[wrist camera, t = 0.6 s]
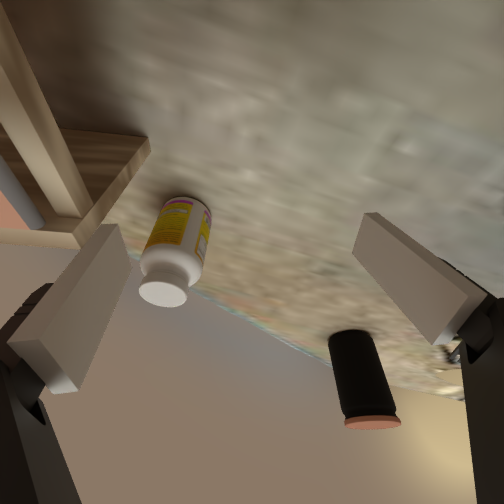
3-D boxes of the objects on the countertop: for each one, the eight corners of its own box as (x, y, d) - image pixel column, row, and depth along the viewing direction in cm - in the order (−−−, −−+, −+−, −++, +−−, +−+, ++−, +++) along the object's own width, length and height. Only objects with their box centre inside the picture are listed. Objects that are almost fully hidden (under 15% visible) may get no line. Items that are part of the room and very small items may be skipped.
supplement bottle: (153, 214, 33) (115, 294, 24) (180, 184, 29) (147, 264, 20) (193, 240, 36) (173, 318, 27) (222, 216, 33) (209, 296, 24)
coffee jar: (334, 349, 66) (351, 430, 53) (321, 334, 59) (338, 423, 47) (375, 341, 62) (404, 427, 49) (366, 325, 55) (398, 419, 43)
